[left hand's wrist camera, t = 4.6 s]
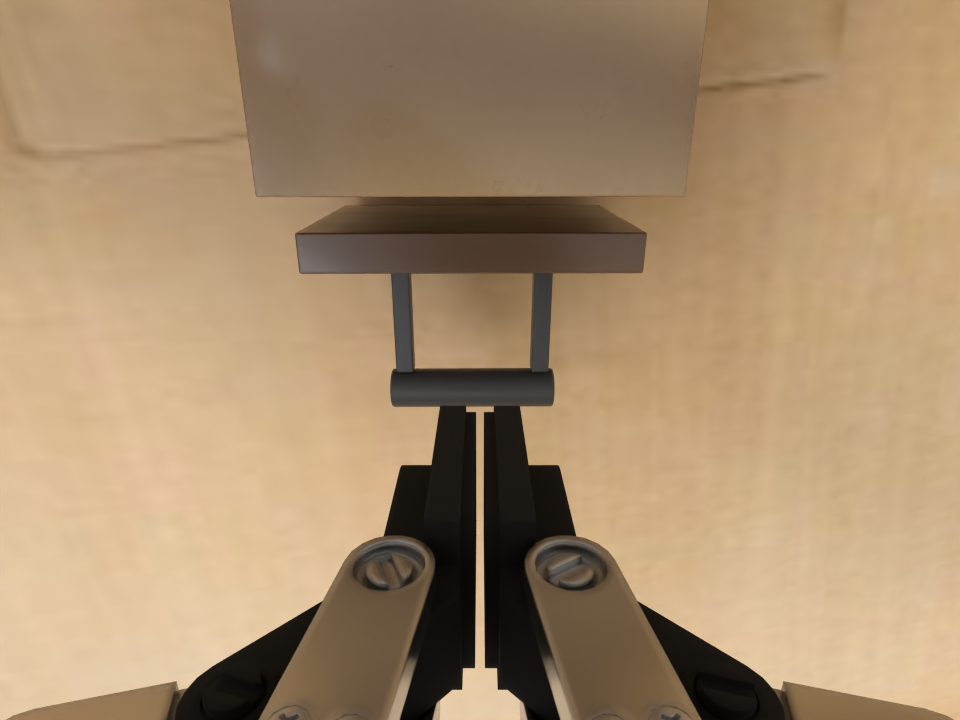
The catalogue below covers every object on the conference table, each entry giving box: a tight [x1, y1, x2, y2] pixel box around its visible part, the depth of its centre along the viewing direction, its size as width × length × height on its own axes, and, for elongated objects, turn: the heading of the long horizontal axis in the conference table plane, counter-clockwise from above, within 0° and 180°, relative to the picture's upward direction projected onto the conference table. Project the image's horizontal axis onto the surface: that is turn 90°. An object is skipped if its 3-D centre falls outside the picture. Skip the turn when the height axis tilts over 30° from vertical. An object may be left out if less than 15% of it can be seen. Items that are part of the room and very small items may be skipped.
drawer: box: [295, 205, 647, 407], centre depth 18 cm, size 25×10×7 cm, turn 0°
